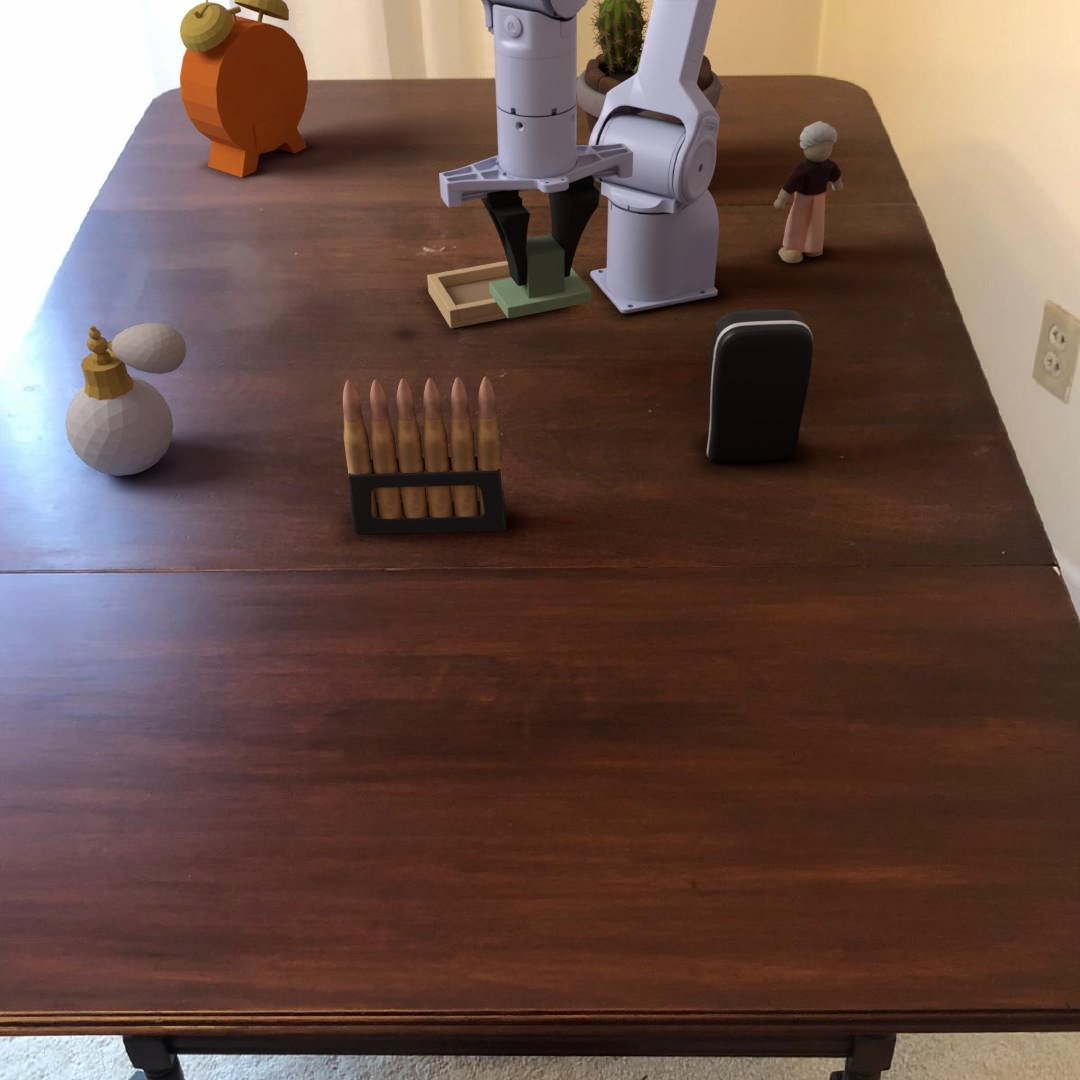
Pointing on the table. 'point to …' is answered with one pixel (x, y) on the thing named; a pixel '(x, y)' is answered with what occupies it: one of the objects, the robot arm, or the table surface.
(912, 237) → the table surface
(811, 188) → the grandmother figurine
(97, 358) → the perfume bottle
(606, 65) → the flowerpot
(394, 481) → the ammunition clip
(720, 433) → the battery charger
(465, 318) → the socket pad
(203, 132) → the alarm clock
